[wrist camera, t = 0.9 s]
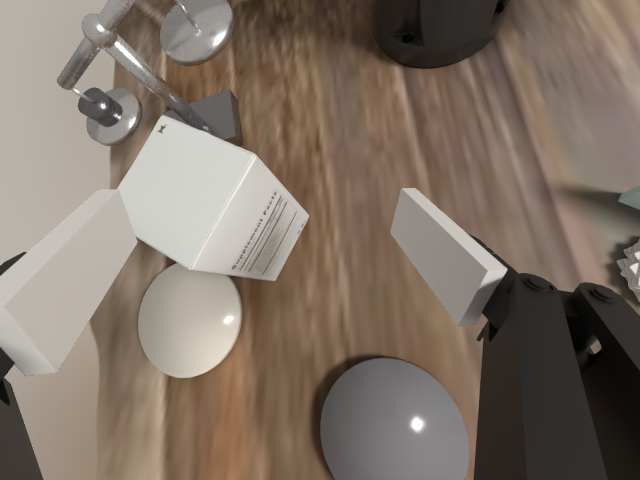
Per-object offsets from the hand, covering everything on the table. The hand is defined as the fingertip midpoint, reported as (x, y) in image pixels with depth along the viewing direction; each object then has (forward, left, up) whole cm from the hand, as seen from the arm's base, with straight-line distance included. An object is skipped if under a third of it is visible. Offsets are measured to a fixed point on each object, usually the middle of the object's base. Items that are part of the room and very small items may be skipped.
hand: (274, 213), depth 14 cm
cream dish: (+18, +3, -18) cm, 25 cm away
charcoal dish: (-2, +17, -18) cm, 25 cm away
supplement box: (+8, -5, -18) cm, 20 cm away
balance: (+14, -21, -18) cm, 31 cm away
